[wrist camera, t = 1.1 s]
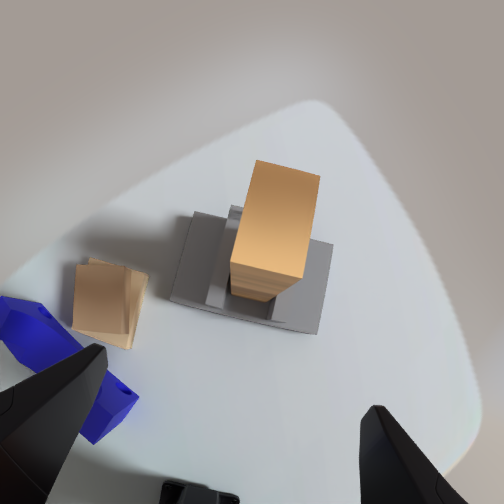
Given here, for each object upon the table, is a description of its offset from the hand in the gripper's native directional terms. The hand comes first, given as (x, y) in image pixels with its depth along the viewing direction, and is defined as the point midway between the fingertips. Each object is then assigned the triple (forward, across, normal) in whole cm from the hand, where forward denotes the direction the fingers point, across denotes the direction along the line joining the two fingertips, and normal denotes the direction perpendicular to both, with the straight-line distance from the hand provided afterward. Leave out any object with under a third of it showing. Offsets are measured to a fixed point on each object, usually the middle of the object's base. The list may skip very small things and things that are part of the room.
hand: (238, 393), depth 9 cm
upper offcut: (+11, +10, +7) cm, 16 cm away
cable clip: (+8, +13, +13) cm, 20 cm away
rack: (+15, 0, +4) cm, 15 cm away
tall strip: (+14, 0, +3) cm, 14 cm away
